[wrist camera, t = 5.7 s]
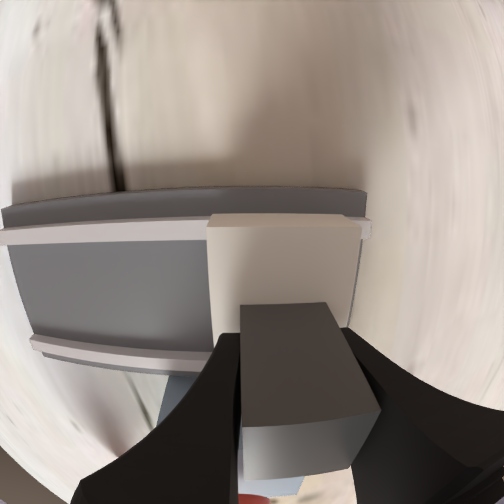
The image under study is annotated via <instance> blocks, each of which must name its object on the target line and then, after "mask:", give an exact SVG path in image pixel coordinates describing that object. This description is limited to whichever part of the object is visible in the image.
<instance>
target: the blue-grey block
mask: <svg viewBox="0 0 504 504" xmlns="http://www.w3.org/2000/svg"><path fill="white" fill-rule="evenodd" d="M196 379H197V377H188V376H171V375H169V378H168V382H167V386H166V389H165V393H164V397H163V401H162V405H161V409H160V413H159V417H158V421H157V425H156V427H157V426H158V425H159V424H160V423H161V422H162V421H163V420H164V419H165V418H166V417H167V415H168V414H169V413H170V412H171V411H172V410H173V409H174V408H175V407H176V405H177V404H178V403H179V402H180V401H181V399H182V398H183V397H184V395H185V394H186V393H187V391H188V390H189V389H190V387H191V386H192V384H193V383H194V382H195V380H196ZM304 477H305V476H301V477H293V478H283V479H269V480H245V481H244V465H243V443H242V415H241V426H240V438H239V449H238V494H253V495H260V496H264V497H279V496H289V495H297V493H298V491H299V489H300V486H301V484H302V482H303V479H304Z"/></svg>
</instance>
